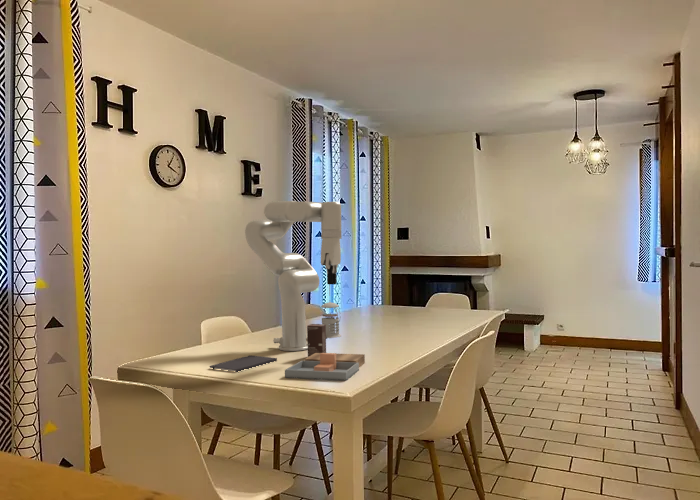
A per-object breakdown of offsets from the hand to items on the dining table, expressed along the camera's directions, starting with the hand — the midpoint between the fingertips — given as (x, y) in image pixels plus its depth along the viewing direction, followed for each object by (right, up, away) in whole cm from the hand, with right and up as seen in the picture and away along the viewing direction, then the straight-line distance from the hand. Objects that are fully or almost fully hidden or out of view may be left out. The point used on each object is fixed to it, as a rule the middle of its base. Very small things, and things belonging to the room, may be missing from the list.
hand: (331, 284), depth 211 cm
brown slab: (+2, -27, -18) cm, 32 cm away
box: (-5, -27, -3) cm, 28 cm away
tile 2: (0, -24, -24) cm, 34 cm away
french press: (-2, -27, +46) cm, 53 cm away
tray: (-2, -27, -30) cm, 41 cm away
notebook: (-30, -28, -13) cm, 44 cm away
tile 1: (-2, -24, -29) cm, 38 cm away
